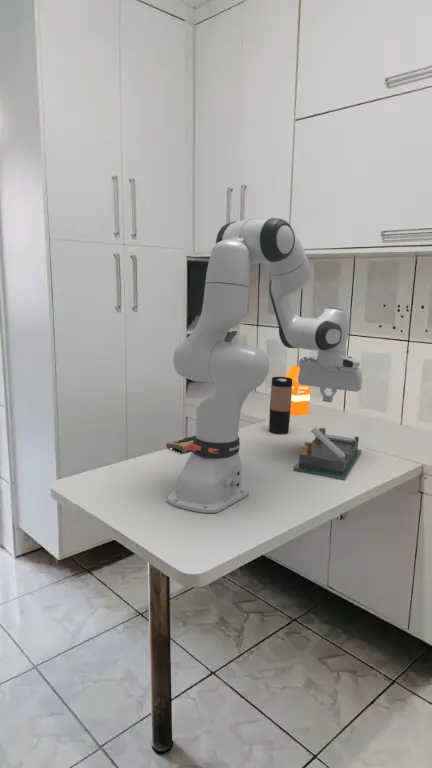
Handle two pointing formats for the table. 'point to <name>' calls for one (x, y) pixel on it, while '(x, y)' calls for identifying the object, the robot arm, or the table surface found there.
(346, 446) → the dark piece
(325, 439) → the strap front
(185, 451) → the computer
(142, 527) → the table surface
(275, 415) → the travel mug
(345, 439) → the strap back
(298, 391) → the orange juice
